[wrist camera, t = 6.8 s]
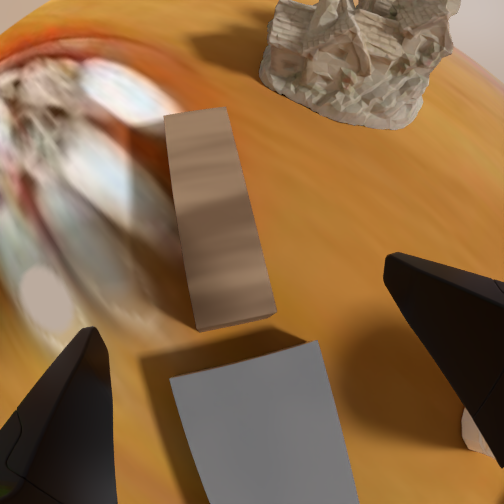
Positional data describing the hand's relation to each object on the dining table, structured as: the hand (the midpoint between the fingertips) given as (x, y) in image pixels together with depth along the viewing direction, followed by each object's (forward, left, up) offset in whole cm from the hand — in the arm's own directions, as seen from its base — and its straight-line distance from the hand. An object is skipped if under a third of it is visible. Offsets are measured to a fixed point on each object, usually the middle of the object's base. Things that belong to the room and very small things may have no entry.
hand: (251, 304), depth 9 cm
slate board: (-10, -4, -10) cm, 15 cm away
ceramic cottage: (+24, -8, -10) cm, 28 cm away
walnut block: (0, 0, -9) cm, 9 cm away
